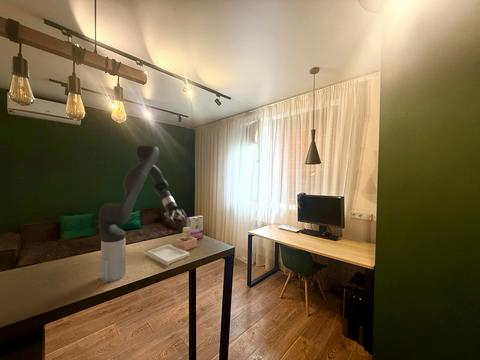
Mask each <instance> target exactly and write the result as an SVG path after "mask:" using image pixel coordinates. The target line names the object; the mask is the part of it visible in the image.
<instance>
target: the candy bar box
mask: <svg viewBox="0 0 480 360" xmlns="http://www.w3.org/2000/svg"><path fill="white" fill-rule="evenodd" d="M186 221H187V222H186V227H190V236H191V237H194V238H197V240H199V239H204V216H203V215H195V216H189V217H187V218H186Z"/></svg>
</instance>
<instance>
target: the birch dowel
mask: <svg viewBox="0 0 480 360" xmlns="http://www.w3.org/2000/svg"><path fill="white" fill-rule="evenodd" d="M182 237H183V241H188V240H190V227H187V226H185V227H183V228H182Z"/></svg>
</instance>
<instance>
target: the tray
mask: <svg viewBox="0 0 480 360" xmlns="http://www.w3.org/2000/svg"><path fill="white" fill-rule="evenodd" d="M146 253H147V255H146V256H147V257H150V259H151V258H152V259H153V260H155V261H157V262H159V263H161V264H163V265H164V266H166V267H169V266H172V265H171V264H172V263H175V262H177V261H180V260H182V259H184V258H187V257H190V255H191V253H190V252H189V251H187V250H186V251H184V250H182V249H179V248H177V247H175V246H174V245H173V244H166V245H162V246H159V247H156V248H153V249H149V250H147V252H146Z"/></svg>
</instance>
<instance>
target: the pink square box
mask: <svg viewBox="0 0 480 360" xmlns="http://www.w3.org/2000/svg"><path fill="white" fill-rule="evenodd" d="M174 240H175V241H174V243H175V244H174V245H175V246H174V247H177V248H179V249H182V250H184V251H186V252H187V251H189V250H191V249H193V248H197V246H198V239H197V238H194V237H191V236H190V240H188V241H183V236H180V237H178V238H175V239H174Z"/></svg>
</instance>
